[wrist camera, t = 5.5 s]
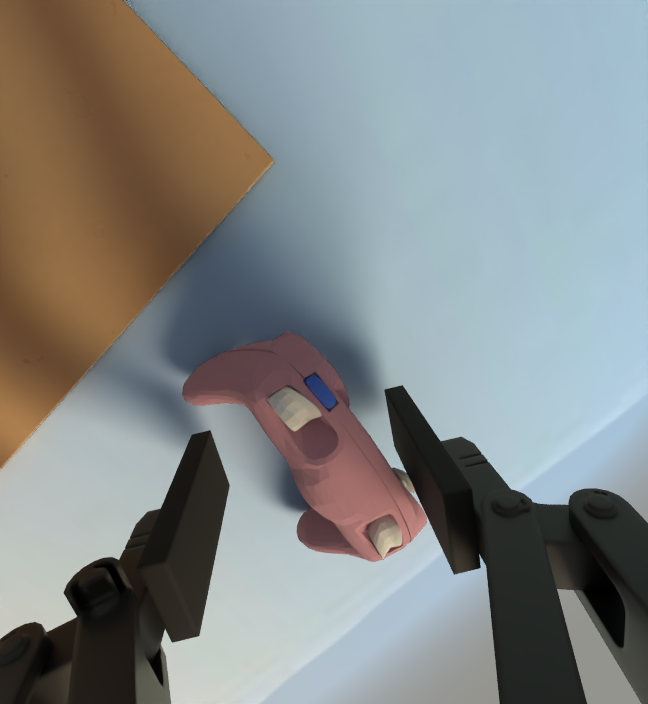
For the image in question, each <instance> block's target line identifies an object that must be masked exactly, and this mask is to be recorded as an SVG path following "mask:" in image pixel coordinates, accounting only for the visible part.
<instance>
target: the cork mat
mask: <svg viewBox="0 0 648 704" xmlns="http://www.w3.org/2000/svg"><path fill="white" fill-rule="evenodd" d="M273 164H274V160H273V158H272V157H271V156H270V155H269V154H268V153H267V152H266V151H265V150H264V149H263V148H262V147H261V146H260V145H259V144H258V142H257V141H256V140H255V139H254V138H253V137H252V136H251V135H250V134H249V133H248V132H247V131H246V130H245V129H244V128H243V127H242V126H241V124H240V123H239V122H238V121H237V120H236V119H235V118H234V117H233V116H232V115H231V114H230V113H229V112H228V111H227V110H226V109H225V108H224V106H223V105H222V104H221V103H220V102H219V101H218V100H217V99H216V98H215V97H214V96H213V95H212V94H211V93H210V92H209V91H208V89H207V88H206V87H205V86H204V85H203V84H202V83H201V82H200V81H199V80H198V79H197V78H196V77H195V76H194V75H193V74H192V73H191V71H190V70H189V69H188V68H187V67H186V66H185V65H184V64H183V63H182V62H181V61H180V60H179V59H178V58H177V57H176V56H175V55H174V53H173V52H172V51H171V50H170V49H169V48H168V47H167V46H166V45H165V44H164V43H163V42H162V41H161V40H160V39H159V38H158V36H157V35H156V34H155V33H154V32H153V31H152V30H151V29H150V28H149V27H148V26H147V25H146V24H145V23H144V22H143V21H142V20H141V18H140V17H139V16H138V15H137V14H136V13H135V12H134V11H133V10H132V9H131V8H130V7H129V6H128V5H127V4H126V3H125V2H124V0H0V470H1V469H2V468H3V466H4V465H5V464H6V463H7V462H8V461H9V460H10V459H11V458H12V456H13V455H14V454H15V453H16V452H17V451H18V450H19V449H20V447H21V446H22V445H23V444H24V443H25V442H26V441H27V440H28V438H29V437H30V436H31V435H32V434H33V433H34V432H35V431H36V429H37V428H38V427H39V426H40V425H41V424H42V423H43V422H44V421H45V419H46V418H47V417H48V416H49V415H50V414H51V413H52V412H53V410H54V409H55V408H56V407H57V406H58V405H59V404H60V403H61V401H62V400H63V399H64V398H65V397H66V396H67V395H68V394H69V392H70V391H71V390H72V389H73V388H74V387H75V386H76V385H77V383H78V382H79V381H80V380H81V379H82V378H83V377H84V376H85V375H86V373H87V372H88V371H89V370H90V369H91V368H92V367H93V366H94V364H95V363H96V362H97V361H98V360H99V359H100V358H101V357H102V355H103V354H104V353H105V352H106V351H107V350H108V349H109V348H110V346H111V345H112V344H113V343H114V342H115V341H116V340H117V339H118V338H119V336H120V335H121V334H122V333H123V332H124V331H125V330H126V329H127V327H128V326H129V325H130V324H131V323H132V322H133V321H134V320H135V318H136V317H137V316H138V315H139V314H140V313H141V312H142V311H143V309H144V308H145V307H146V306H147V305H148V304H149V303H150V302H151V300H152V299H153V298H154V297H155V296H156V295H157V294H158V293H159V292H160V290H161V289H162V288H163V287H164V286H165V285H166V284H167V283H168V281H169V280H170V279H171V278H172V277H173V276H174V275H175V274H176V272H177V271H178V270H179V269H180V268H181V267H182V266H183V265H184V263H185V262H186V261H187V260H188V259H189V258H190V257H191V256H192V255H193V253H194V252H195V251H196V250H197V249H198V248H199V247H200V246H201V244H202V243H203V242H204V241H205V240H206V239H207V238H208V237H209V235H210V234H211V233H212V232H213V231H214V230H215V229H216V228H217V226H218V225H219V224H220V223H221V222H222V221H223V220H224V219H225V217H226V216H227V215H228V214H229V213H230V212H231V211H232V210H233V209H234V207H235V206H236V205H237V204H238V203H239V202H240V201H241V200H242V198H243V197H244V196H245V195H246V194H247V193H248V192H249V191H250V189H251V188H252V187H253V186H254V185H255V184H256V183H257V182H258V180H259V179H260V178H261V177H262V176H263V175H264V174H265V173H266V172H267V170H268V169H269V168H270V167H271V166H272V165H273Z"/></svg>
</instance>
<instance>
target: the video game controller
mask: <svg viewBox="0 0 648 704" xmlns="http://www.w3.org/2000/svg"><path fill="white" fill-rule="evenodd" d="M182 395H183V397H184V399H185V401H187V402H189V403H192V404H194V405H201V406H203V405H210V404H220V403H238V404H244V405H245V406H247V407H248V408H249V409H250V411H251V412H252V413H253V415H254V416H255V418H256V419H257V421H258V422H259V424H260V425H261V427H262V428H263V430H264V431H265V433H266V434H267V436H268V437H269V438H270V440H271V441H272V442H273V444H274V445H275V446H276V447H277V449H278V450H279V451H280V452H281V454H282V455H283V456H284V458H285V459H286V460H287V462H288V465H289V467H290V470H291V473H292V476H293V479H294V481H295V483H296V485H297V487H298V489H299V492H300V493H301V495H302V496H303V498H304V499H305V500H306V502H307V503H308V504H309V505H310V506H311V508H309V509H308V510H307V511H306V512H304V513H303V515H302V516H301V518H300V520H299V522H298V525H297V535H298V539H299V540H300V541H301V542H302V543H303V544H304V545H305V546H307V547H308V548H310V549H312V550H315V551H319V552H325V553H336V554H348V555H352V556H356V557H359V558H362V559H365V560H368V561H374V562H375V561H379V560H384V558H386V557H388V556H390V555H391V554H393V553H395V552H397V551H399V550H401V549H403V548H404V547H405V546H406V545H407V544H408V543H410V542H411V541H412V540H413V539H414V538H415V536H416V535H417V534H418V533H419V532H420V531H421V529H422V528H423V527H424V526H425V525H426V523H427V518H426V516H425V513H424V511H423V509H422V508H421V506H420V505H419V504H418V503H417V501H416V500H415V499H414V497H413V496H412V495H411V493H410V492H412V493H414V492H415V489H414V487H413V485H412V483H411V481H410V479H409V476H408V474H407V473H405V472H404V471H402V470H400V469H396V468H391V467H390V465H389V464H388V462H387V460H386V459H385V457H384V456H383V455H382V453H381V452H380V450H379V449H378V447H377V446H376V444H375V443H374V441H373V440H372V438H371V437H370V435H369V434H368V433H367V431H366V430H365V429H364V427H363V426H362V425H361V424H360V422H359V421H358V420H357V418H356V417H355V416H354V414H353V413H352V412H351V411H350V409H349V398H348V395H347V392H346V389H345V386H344V384H343V383H342V381H341V379H340V377H339V375H338V374H337V373H336V371H335V370H334V368H333V367H332V366H331V364H330V363H329V362H328V361H327V360H326V359H325V358H324V356H323V355H322V354H321V353H320V352H319V351H318V350H317V349H316V348H315V347H313V346H312V345H311V344H310V343H309V342H308V341H307V340H305V339H304V338H302V337H301V336H299V335H297V334H295V333H292V332H285V333H283V334H282V335H280V336H279V337H277V338H276V339H275V340H273V341H261V342H257V343H253V344H249V345H245V346H241V347H238V348H235V349H232V350H229V351H226V352H223V353H221V354H219V355H217V356H215V357H213V358H211V359H209V360H208V361H206V362H205V363H203V364H202V365H200V366H199V367H198V368H197V369H196V370H195V371H194V372H193V373H192V374H191V375H190V376H189V378H188V379H187V380H186V382H185V383H184V386H183V391H182Z"/></svg>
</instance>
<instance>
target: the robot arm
mask: <svg viewBox="0 0 648 704" xmlns="http://www.w3.org/2000/svg"><path fill="white" fill-rule="evenodd" d="M385 396H386V402H387V407H388V413H389V418H390V424H391V429H392V435H393V441H394V446H395V449H396V451H397V453H398V455H399V457H400V459H401V461H402V464H403V466H404V468H405V470H406V472H407V474H408V476H409V479H410V481H411V483H412V485H413V487H414V489H415V492H416V494H417V496H418V498H419V500H420V502H421V504H422V507H423V509H424V511H425V513H426V515H427V517H428V519H429V522H430V524H431V526H432V528H433V530H434V532H435V535H436V537H437V539H438V541H439V543H440V545H441V547H442V550H443V552H444V554H445V556H446V558H447V560H448V562H449V564H450V567H451V569H452V571H453V573H454V574H458V573H462V572H466V571H471V570H475V569H479V568H480V557H479V554H480V556H481V558H482V559H483V561H484V563H485V564H486V568H487V579H488V588H489V599H490V609H491V619H492V629H493V640H494V650H495V660H496V670H497V681H498V690H499V701H500V704H587V702H586V698H585V694H584V690H583V687H582V683H581V679H580V675H579V672H578V668H577V664H576V660H575V656H574V653H573V649H572V645H571V641H570V637H569V633H568V630H567V626H566V622H565V618H564V614H563V611H562V607H561V603H560V599H559V596H558V592H557V589H567V590H574V591H575V593H576V595H577V596H578V598H579V600H580V601H581V603H582V605H583V606H584V608H585V610H586V611H587V613H588V615H589V616H590V618H591V620H592V621H593V623H594V624H595V626H596V628H597V630H598V631H599V633H600V635H601V636H602V638H603V640H604V641H605V643H606V645H607V646H608V648H609V650H610V651H611V653H612V655H613V656H614V658H615V660H616V661H617V663H618V665H619V666H620V668H621V670H622V672H623V673H624V675H625V676H626V678H627V680H628V682H629V683H630V685H631V686H632V688H633V690H634V691H635V693H636V695H637V696H638V698H639V700H640V702H641V703H642V704H648V523H647V522H646V521H645V520H644V519H643V518H642V517H641V516H640V514H639V513H638V512H637V511H636V510H635V509H634V508H633V507H632V506H631V505H630V504H629V503H628V502H627V501H625V500H624V499H623V498H622V497H620V496H619V495H616V494H614V493H612V492H609V491H606V490H601V489H582V490H579V491H576V492H574V493H573V494H572V495H571V496H570V499H569V505H547V504H537V503H533V502H532V500H531V499H530V498H528V497H527V496H526V495H525V494H523V493H520V492H518V491H515V490H511V489H510V488H509V486H508V485H507V484H506V483H505V481H504V480H503V479H502V478H501V477H500V475H499V474H498V473H497V472H496V470H495V469H494V468H493V467H492V465H491V464H490V463H489V462H488V461H487V459H486V458H485V457H484V456H483V455H482V454H481V452H480V451H479V449H478V448H477V447H476V446H475V445H474V443H472V442H470V441H468V440H466V439H464V438H463V437H458V438H454V439H450V440H445V441H441V442H440V440H439V439H438V437H437V436H436V434H435V433H434V431H433V430H432V428H431V427H430V425H429V424H428V422H427V421H426V419H425V418H424V416H423V415H422V413H421V412H420V410H419V409H418V408H417V406H416V405H415V403H414V402H413V400H412V399H411V397H410V396H409V394H408V393H407V391H406V390H405V388H404V387H403V385H402V386H398V387H393V388H389V389H385ZM229 486H230V485H229V482H228V479H227V476H226V474H225V471H224V468H223V465H222V462H221V459H220V457H219V454H218V451H217V448H216V445H215V442H214V439H213V437H212V434H211V431H210V430H209V431H205V432H201V433H197V434H192V435H191V438H190V440H189V443H188V445H187V447H186V450H185V452H184V455H183V457H182V459H181V462H180V464H179V467H178V469H177V471H176V474H175V476H174V479H173V481H172V483H171V486H170V488H169V491H168V493H167V495H166V498H165V500H164V503H163V505H162V507H161V509H158V510H153V511H149V512H147V513H146V514H145V515H144V516H143V517H142V518H141V520H140V521H139V522H138V523H137V524H136V526H135V528H134V530H133V532H132V534H131V536H130V539H129V540H128V543H127V545H126V547H125V550H124V551H123V553H122V555H121V557H120V559H119V560H118V559H115V558H113V557H108V558H102V559H99V560H96V561H94V562H92V563H90V564H89V565H87V566H85V567H84V568H82V569H81V570H80V571H79V572H78V573H76V574H75V575H74V576H73V578H72V579H71V580H70V581H69V583H68V584H67V586H66V588H65V591H64V594H65V596H66V598H67V599H68V601H69V603H70V605H71V606H72V608H73V610H74V612H75V613H76V615H77V617H76V618H74V619H73V620H71V621H69V622H67V623H65V624H63V625H61V626H59V627H57V628H55V629H53V630H51V631H49V632H46V631H45V629H44V627H43V626H42V624H39V623H36V622H33V623H28V624H24V625H22V626H20V627H18V628H16V629H14V630H12V631H11V632H9V633H8V634H7V635H5V636H4V637H2V638H1V639H0V704H171V699H170V690H169V681H168V672H167V663H166V656H165V653H164V651H163V648H162V646H161V641H162V637H163V634H164V630H165V629H166V631H167V633H168V635H169V637H170V639H171V641H172V642H176V641H181V640H185V639H189V638H193V637H197V636H199V634H200V629H201V625H202V620H203V615H204V610H205V605H206V600H207V595H208V590H209V585H210V580H211V575H212V570H213V565H214V560H215V555H216V550H217V545H218V540H219V535H220V530H221V526H222V521H223V516H224V511H225V506H226V501H227V496H228V491H229Z"/></svg>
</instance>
